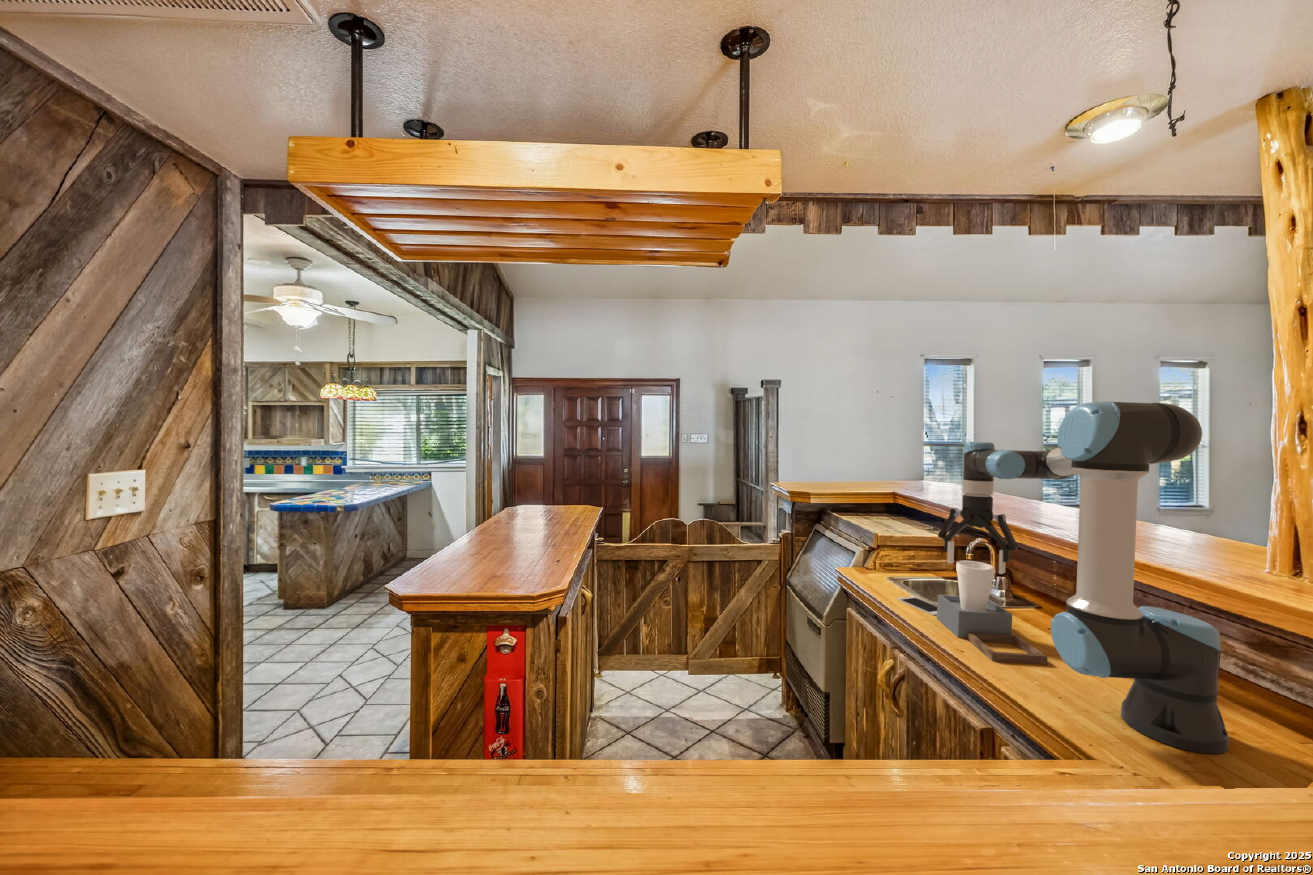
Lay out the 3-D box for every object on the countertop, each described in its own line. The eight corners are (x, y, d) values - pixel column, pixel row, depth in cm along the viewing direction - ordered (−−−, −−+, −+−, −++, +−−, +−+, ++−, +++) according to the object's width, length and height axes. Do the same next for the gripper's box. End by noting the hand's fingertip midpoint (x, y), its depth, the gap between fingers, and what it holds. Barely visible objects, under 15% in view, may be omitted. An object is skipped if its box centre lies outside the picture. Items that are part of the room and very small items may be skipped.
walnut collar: (1047, 664, 131) (1047, 656, 131) (992, 660, 132) (992, 652, 132) (1017, 642, 144) (1017, 635, 144) (967, 639, 145) (967, 632, 145)
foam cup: (948, 602, 157) (950, 560, 157) (979, 603, 157) (981, 560, 156) (966, 614, 148) (967, 569, 147) (999, 615, 147) (1001, 570, 147)
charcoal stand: (1011, 640, 145) (1012, 614, 145) (958, 637, 146) (959, 611, 146) (985, 621, 159) (986, 597, 158) (936, 618, 160) (937, 594, 160)
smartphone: (933, 616, 163) (933, 613, 163) (896, 600, 177) (896, 597, 177) (950, 614, 165) (951, 611, 165) (912, 598, 180) (912, 595, 180)
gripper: (1032, 499, 144) (1030, 575, 144) (938, 489, 163) (936, 556, 164) (1023, 501, 139) (1021, 580, 139) (927, 491, 159) (925, 560, 159)
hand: (975, 567), depth 152 cm, fingers open, 13 cm apart
